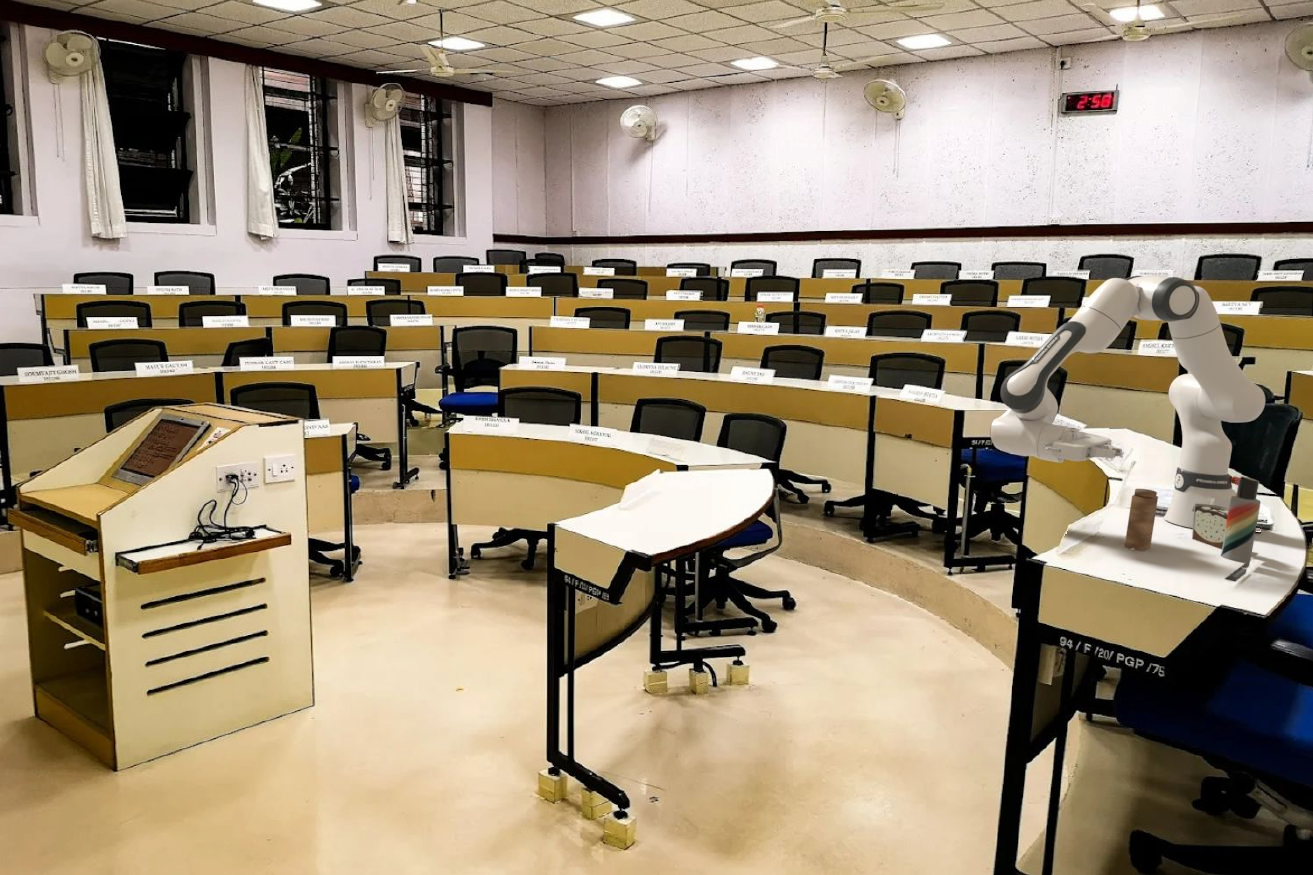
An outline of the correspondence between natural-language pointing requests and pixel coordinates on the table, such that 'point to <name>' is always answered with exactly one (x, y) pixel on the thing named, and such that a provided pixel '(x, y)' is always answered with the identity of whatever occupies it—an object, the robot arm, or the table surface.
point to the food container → (1209, 524)
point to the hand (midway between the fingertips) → (1117, 453)
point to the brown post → (1141, 519)
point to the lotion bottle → (1241, 522)
